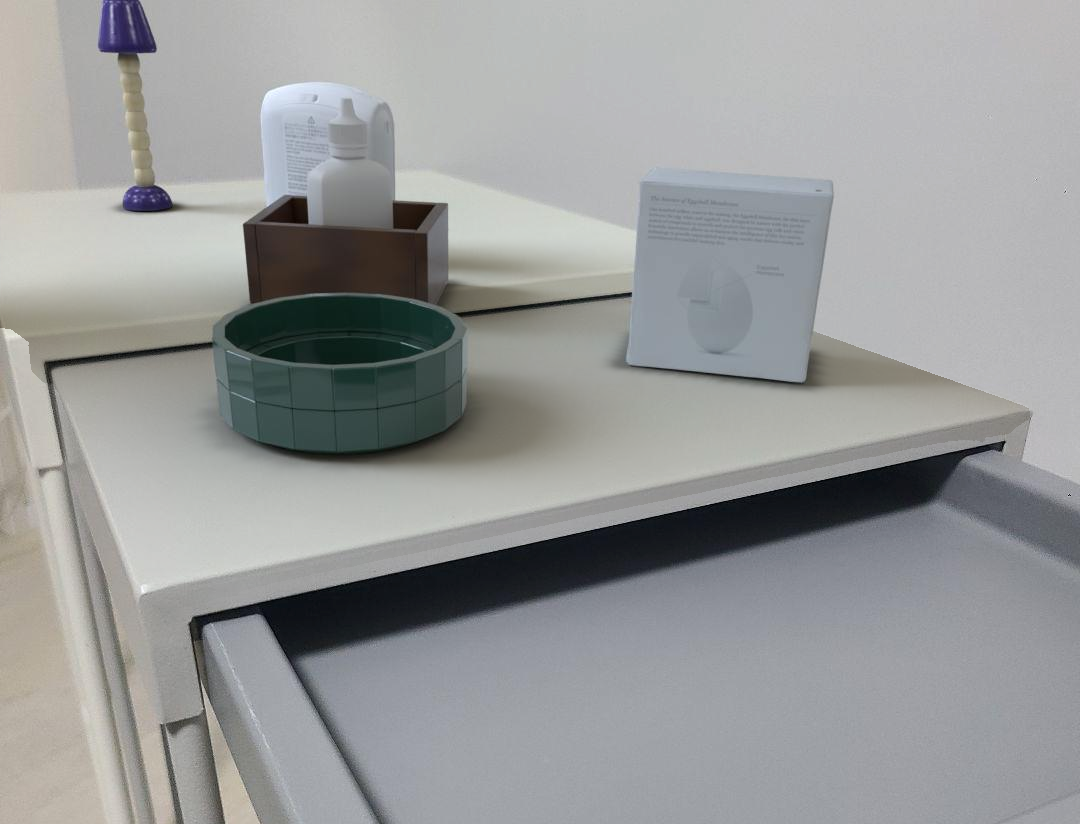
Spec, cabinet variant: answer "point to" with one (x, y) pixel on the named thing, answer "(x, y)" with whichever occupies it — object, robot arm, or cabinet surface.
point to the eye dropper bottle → (349, 179)
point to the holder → (347, 253)
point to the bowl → (340, 371)
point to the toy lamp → (133, 94)
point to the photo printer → (316, 133)
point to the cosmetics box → (728, 272)
